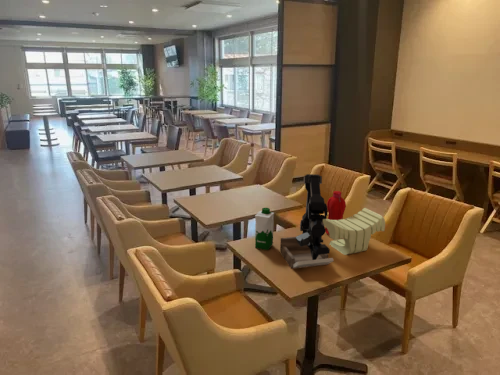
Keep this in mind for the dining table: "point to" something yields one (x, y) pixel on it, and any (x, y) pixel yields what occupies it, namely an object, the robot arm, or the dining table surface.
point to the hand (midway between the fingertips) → (313, 260)
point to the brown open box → (296, 251)
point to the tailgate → (312, 262)
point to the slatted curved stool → (354, 231)
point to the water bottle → (335, 207)
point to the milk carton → (264, 229)
